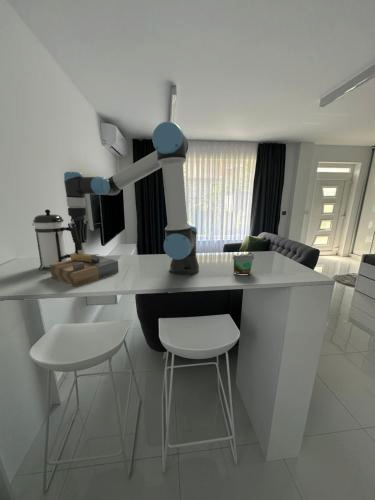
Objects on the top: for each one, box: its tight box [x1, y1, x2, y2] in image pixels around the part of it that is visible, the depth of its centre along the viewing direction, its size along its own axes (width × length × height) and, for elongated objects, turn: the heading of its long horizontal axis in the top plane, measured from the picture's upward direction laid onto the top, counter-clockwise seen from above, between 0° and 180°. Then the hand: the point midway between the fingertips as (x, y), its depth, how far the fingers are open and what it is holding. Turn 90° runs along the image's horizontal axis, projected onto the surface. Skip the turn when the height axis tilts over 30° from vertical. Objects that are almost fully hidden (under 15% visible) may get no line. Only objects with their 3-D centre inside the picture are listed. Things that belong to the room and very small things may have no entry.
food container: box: [232, 251, 255, 275], centre depth 105 cm, size 12×6×10 cm, turn 123°
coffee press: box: [31, 209, 78, 271], centre depth 109 cm, size 17×16×30 cm
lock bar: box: [69, 252, 100, 263], centre depth 101 cm, size 15×4×3 cm, turn 76°
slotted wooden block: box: [49, 255, 120, 287], centre depth 101 cm, size 20×22×9 cm
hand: (81, 255), depth 104 cm, fingers closed
